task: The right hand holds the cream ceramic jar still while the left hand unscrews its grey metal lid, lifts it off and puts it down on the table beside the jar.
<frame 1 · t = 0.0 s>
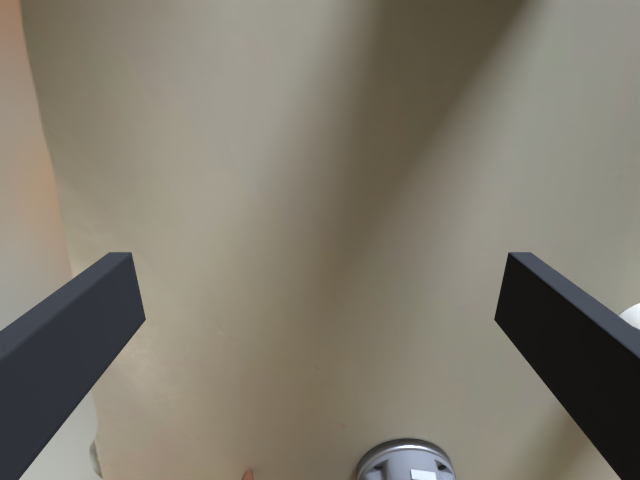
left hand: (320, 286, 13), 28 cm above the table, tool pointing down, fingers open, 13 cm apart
egg: (249, 469, 57), on the table
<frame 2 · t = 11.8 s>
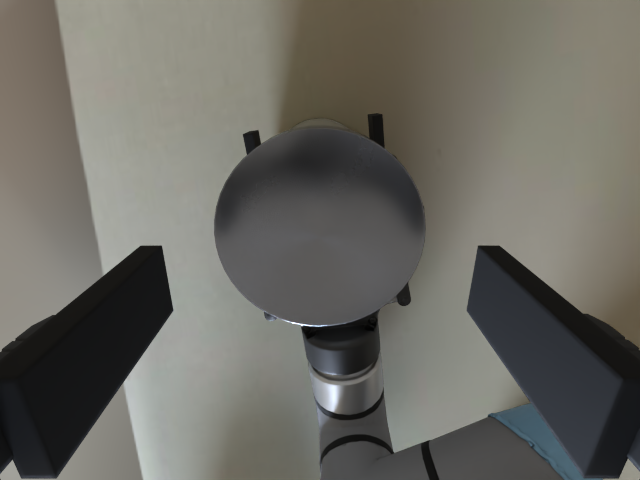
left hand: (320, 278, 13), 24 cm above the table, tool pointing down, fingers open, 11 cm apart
lid: (319, 235, 17), point 19 cm above the table, screwed on, not yet turned
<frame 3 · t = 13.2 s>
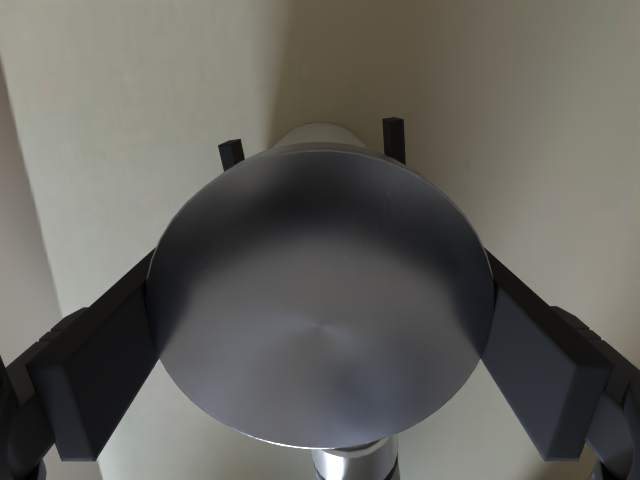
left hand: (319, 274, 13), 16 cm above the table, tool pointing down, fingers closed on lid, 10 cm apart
lid: (319, 319, 11), point 19 cm above the table, screwed on, not yet turned, touching left hand
jar: (320, 181, 29), on the table, touching right hand
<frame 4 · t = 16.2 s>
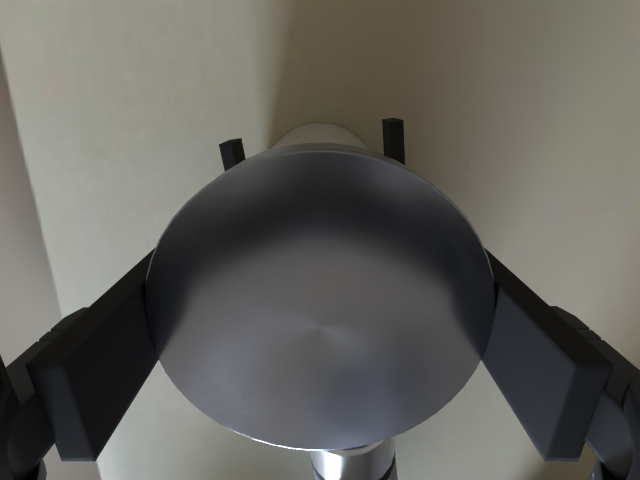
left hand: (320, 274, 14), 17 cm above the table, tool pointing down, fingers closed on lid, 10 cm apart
lid: (319, 320, 11), point 20 cm above the table, turned 82° so far, risen 0.2 cm, still on its thread, touching left hand
jar: (319, 181, 29), on the table, touching right hand
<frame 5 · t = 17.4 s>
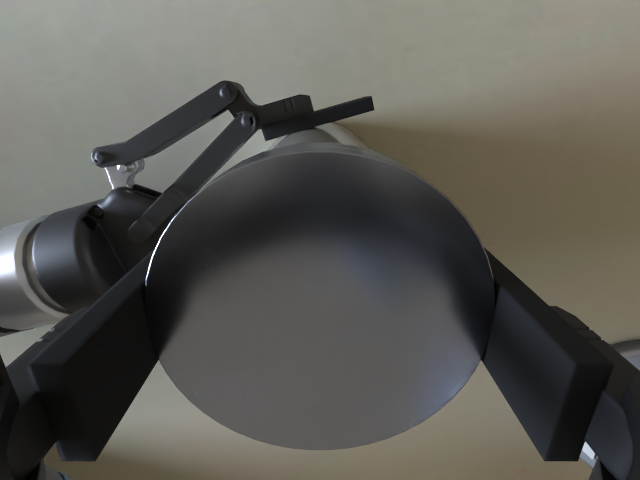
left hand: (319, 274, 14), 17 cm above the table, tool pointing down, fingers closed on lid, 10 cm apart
right hand: (385, 181, 23), fingers closed on jar, 9 cm apart
lid: (319, 320, 11), point 20 cm above the table, off its thread, touching left hand
jar: (319, 179, 29), on the table, touching right hand
when the left hand's fingers open (0 cm above the table, at t = 24.2 s): lid drops 2 cm, point 1 cm above the table.
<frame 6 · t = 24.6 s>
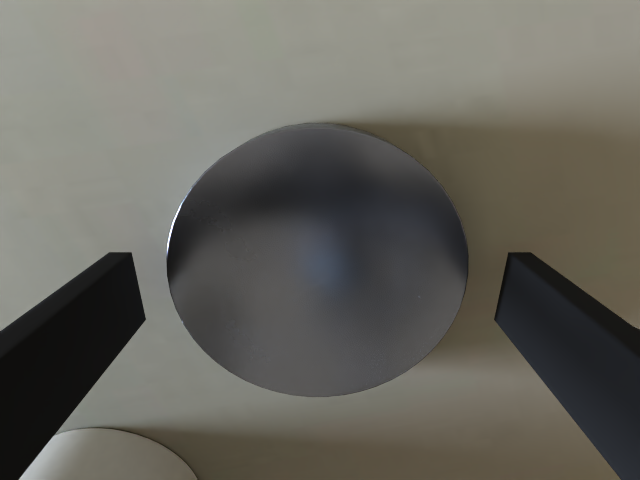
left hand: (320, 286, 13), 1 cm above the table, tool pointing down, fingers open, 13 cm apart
lid: (317, 278, 12), point 1 cm above the table, off its thread
when the right hand's fingers open (6 cm above the table, at t = 25.2 s): jar stays where it is, on the table.
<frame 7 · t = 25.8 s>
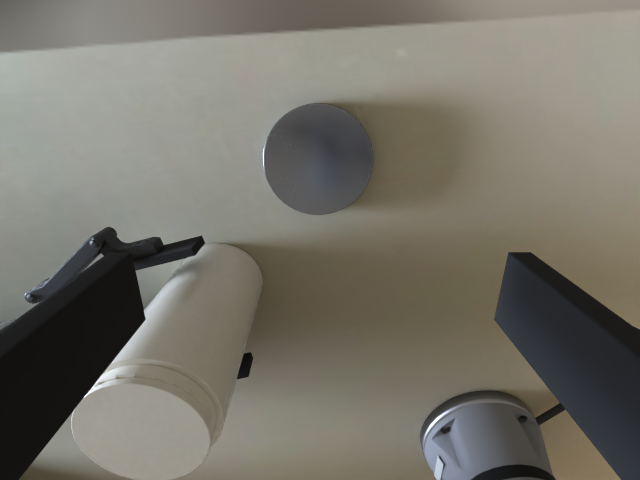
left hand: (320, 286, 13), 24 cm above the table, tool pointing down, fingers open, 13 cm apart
lid: (318, 161, 33), point 1 cm above the table, off its thread
jar: (222, 280, 39), on the table
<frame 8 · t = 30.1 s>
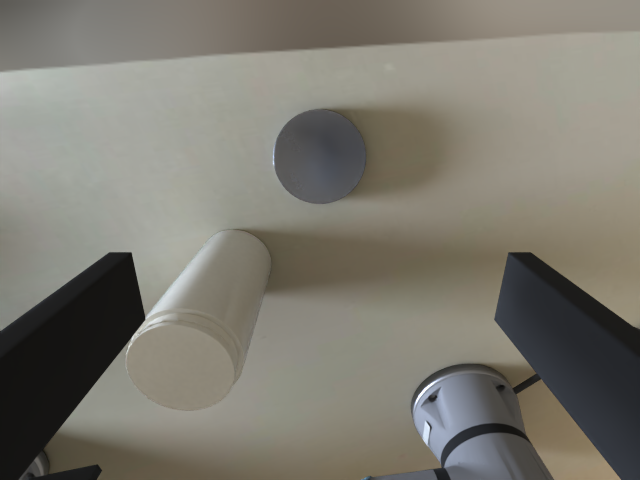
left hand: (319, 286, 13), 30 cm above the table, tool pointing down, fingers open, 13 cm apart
lid: (319, 158, 39), point 1 cm above the table, off its thread
jar: (235, 262, 45), on the table
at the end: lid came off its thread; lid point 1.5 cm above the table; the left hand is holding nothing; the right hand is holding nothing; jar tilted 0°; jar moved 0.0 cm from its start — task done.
